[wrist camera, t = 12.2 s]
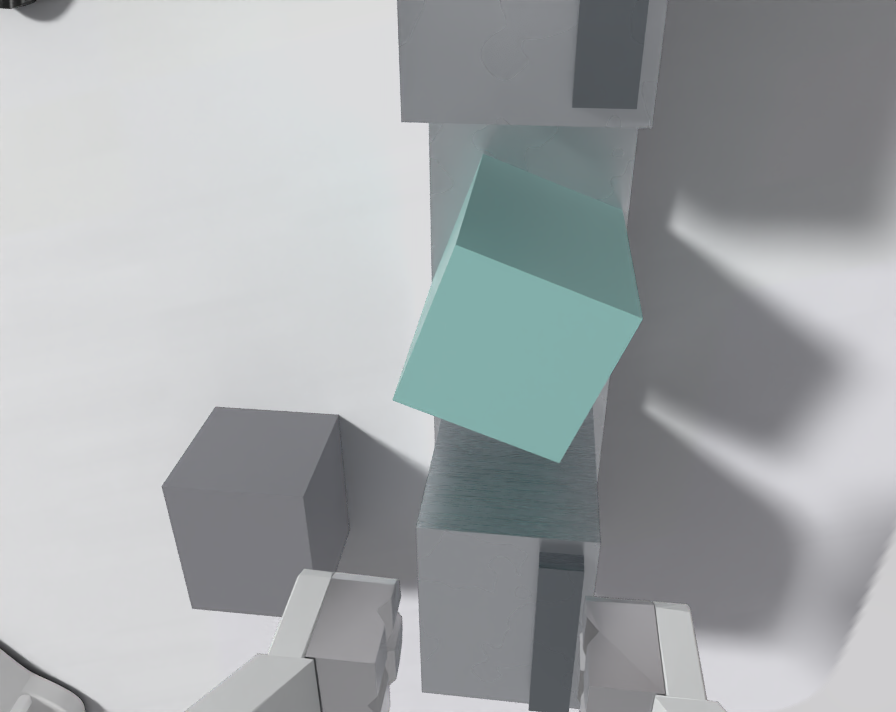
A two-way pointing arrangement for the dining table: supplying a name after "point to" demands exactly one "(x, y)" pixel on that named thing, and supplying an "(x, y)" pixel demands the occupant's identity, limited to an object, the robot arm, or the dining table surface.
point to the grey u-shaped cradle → (451, 173)
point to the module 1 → (257, 507)
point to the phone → (14, 3)
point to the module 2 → (523, 312)
